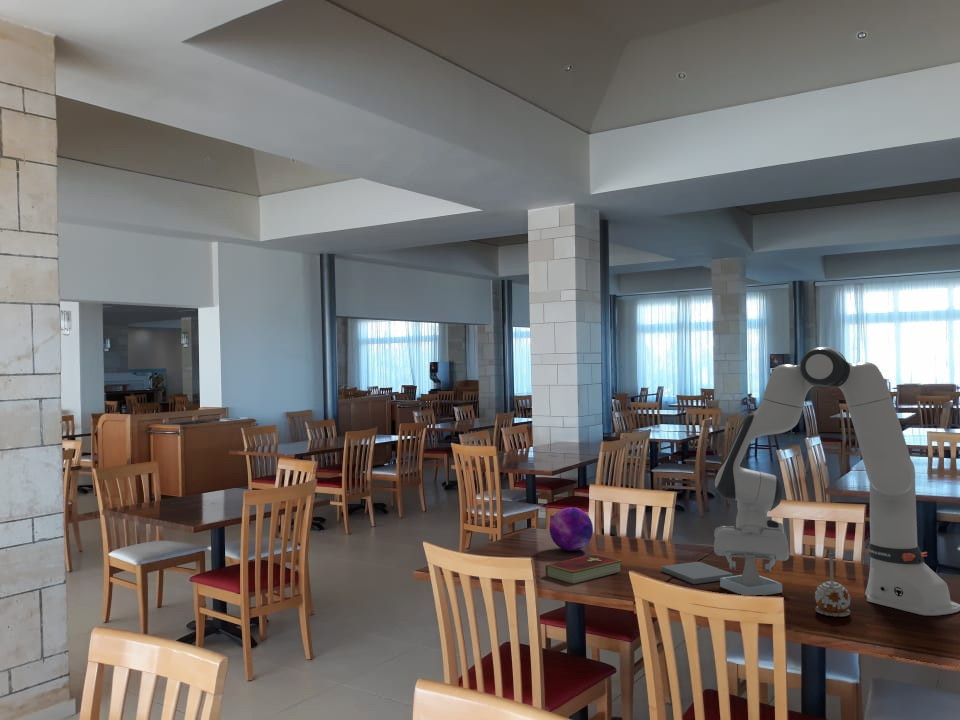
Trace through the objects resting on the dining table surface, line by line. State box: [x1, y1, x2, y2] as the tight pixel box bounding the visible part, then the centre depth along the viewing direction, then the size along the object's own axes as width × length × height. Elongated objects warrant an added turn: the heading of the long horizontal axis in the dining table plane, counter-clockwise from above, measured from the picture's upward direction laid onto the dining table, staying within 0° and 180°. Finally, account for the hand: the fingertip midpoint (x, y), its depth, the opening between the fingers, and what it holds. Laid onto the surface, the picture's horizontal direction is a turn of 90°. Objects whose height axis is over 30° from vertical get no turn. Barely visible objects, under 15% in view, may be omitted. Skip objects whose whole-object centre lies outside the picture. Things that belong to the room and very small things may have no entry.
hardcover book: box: [545, 553, 623, 584], centre depth 231 cm, size 12×21×4 cm, turn 127°
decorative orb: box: [549, 506, 594, 552], centre depth 262 cm, size 15×15×15 cm
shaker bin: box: [719, 574, 783, 596], centre depth 211 cm, size 12×12×2 cm
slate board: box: [660, 561, 734, 585], centre depth 227 cm, size 16×14×2 cm
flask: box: [739, 553, 763, 587], centre depth 211 cm, size 7×7×10 cm
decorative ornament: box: [814, 553, 851, 618], centre depth 189 cm, size 8×8×15 cm
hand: (750, 569), depth 211 cm, fingers open, 8 cm apart
